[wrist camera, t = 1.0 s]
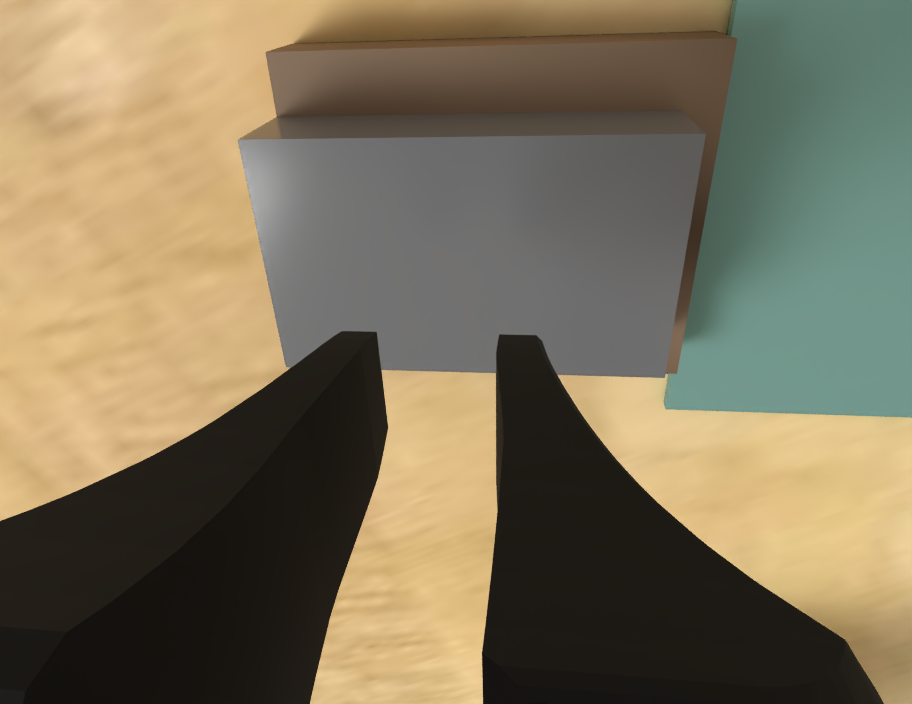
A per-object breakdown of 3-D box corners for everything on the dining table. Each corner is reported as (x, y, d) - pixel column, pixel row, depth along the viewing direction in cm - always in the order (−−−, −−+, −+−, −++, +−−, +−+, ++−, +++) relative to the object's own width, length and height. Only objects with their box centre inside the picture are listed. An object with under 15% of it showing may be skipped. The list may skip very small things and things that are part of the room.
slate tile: (649, 329, 18) (664, 377, 16) (313, 322, 19) (286, 367, 17) (681, 109, 15) (705, 133, 13) (277, 116, 16) (237, 139, 14)
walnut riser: (664, 340, 20) (677, 373, 19) (337, 332, 21) (320, 364, 20) (715, 31, 16) (737, 38, 14) (292, 43, 17) (265, 51, 15)
